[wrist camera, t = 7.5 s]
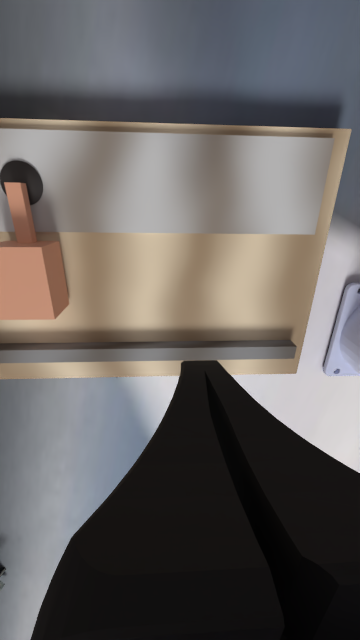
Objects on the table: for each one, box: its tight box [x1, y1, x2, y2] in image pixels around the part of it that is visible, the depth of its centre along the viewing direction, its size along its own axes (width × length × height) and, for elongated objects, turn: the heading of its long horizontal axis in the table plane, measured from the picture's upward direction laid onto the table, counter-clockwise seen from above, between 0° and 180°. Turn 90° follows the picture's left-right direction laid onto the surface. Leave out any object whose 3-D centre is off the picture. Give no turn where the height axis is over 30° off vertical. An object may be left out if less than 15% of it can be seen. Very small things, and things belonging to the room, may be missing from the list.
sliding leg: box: [0, 182, 69, 320], centre depth 15 cm, size 3×7×2 cm, turn 179°
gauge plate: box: [0, 118, 351, 379], centre depth 17 cm, size 28×16×4 cm, turn 89°
